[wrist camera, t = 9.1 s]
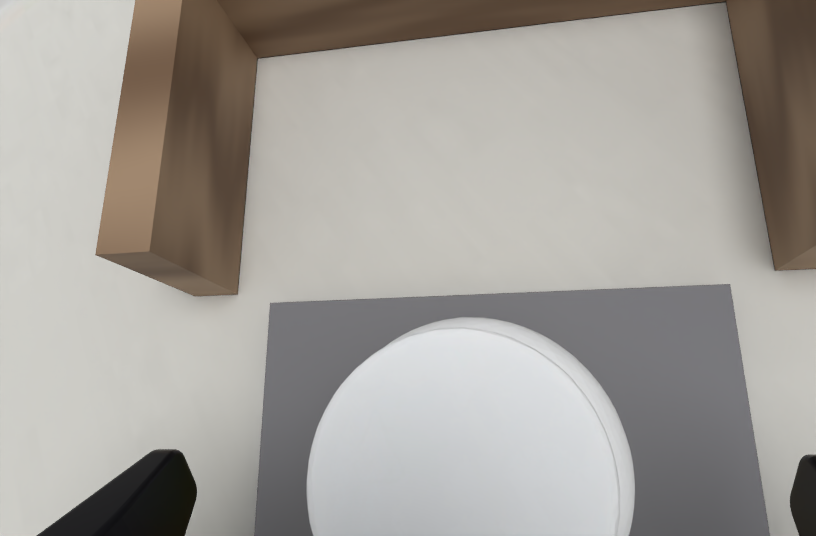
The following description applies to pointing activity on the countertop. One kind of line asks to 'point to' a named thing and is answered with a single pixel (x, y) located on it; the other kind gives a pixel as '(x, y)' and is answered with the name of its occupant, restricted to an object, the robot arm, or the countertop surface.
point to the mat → (593, 347)
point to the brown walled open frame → (363, 25)
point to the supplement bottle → (470, 441)
